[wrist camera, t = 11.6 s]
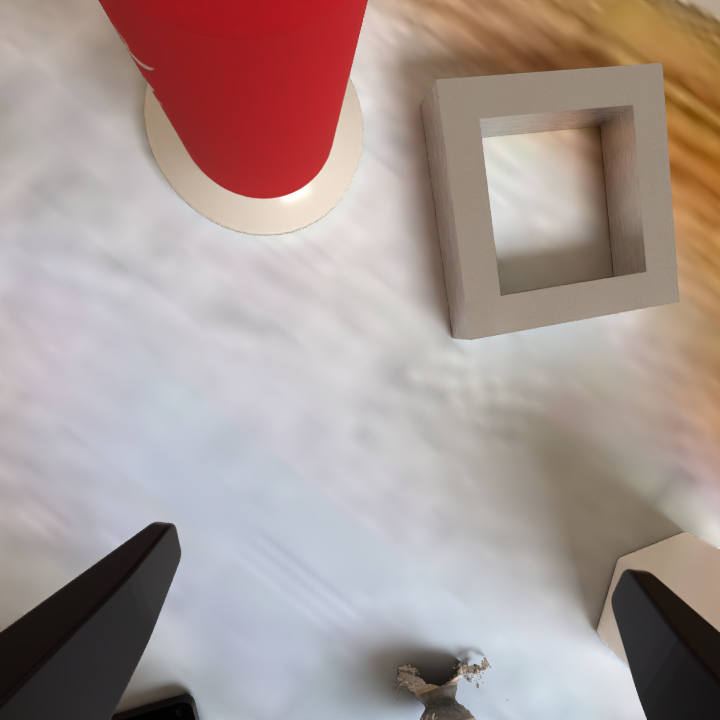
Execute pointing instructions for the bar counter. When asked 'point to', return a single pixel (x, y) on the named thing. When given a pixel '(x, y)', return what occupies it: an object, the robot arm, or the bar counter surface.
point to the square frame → (622, 179)
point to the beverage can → (247, 81)
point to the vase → (440, 692)
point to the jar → (671, 580)
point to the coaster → (255, 212)
